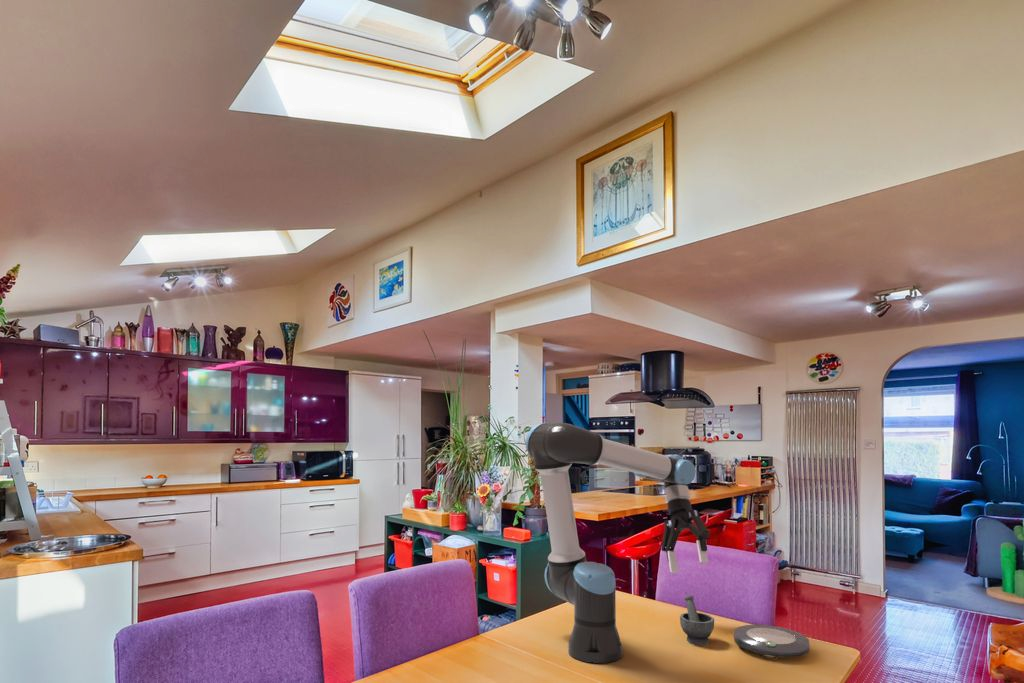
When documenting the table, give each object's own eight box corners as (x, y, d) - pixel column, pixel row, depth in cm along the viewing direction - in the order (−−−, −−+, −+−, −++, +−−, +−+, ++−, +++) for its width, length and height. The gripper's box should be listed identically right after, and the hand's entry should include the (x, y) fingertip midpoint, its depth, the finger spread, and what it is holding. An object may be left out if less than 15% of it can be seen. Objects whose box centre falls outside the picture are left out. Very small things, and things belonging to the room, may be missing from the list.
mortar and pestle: (720, 647, 175) (719, 603, 176) (690, 648, 173) (689, 605, 175) (702, 633, 186) (701, 592, 187) (673, 635, 184) (672, 594, 186)
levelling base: (783, 668, 160) (782, 650, 160) (719, 645, 176) (719, 628, 177) (824, 653, 170) (823, 636, 171) (761, 632, 187) (760, 617, 188)
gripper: (714, 491, 191) (727, 560, 179) (663, 513, 210) (671, 577, 198) (695, 487, 189) (707, 556, 177) (645, 510, 207) (653, 574, 195)
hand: (688, 567), depth 187 cm, fingers open, 13 cm apart
